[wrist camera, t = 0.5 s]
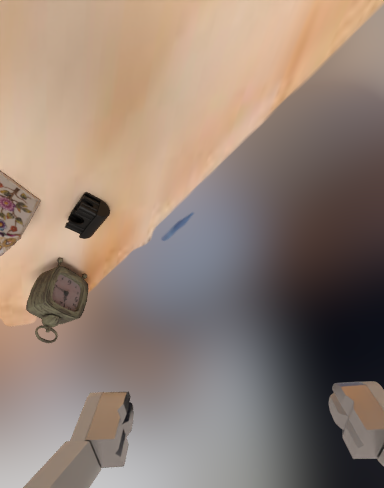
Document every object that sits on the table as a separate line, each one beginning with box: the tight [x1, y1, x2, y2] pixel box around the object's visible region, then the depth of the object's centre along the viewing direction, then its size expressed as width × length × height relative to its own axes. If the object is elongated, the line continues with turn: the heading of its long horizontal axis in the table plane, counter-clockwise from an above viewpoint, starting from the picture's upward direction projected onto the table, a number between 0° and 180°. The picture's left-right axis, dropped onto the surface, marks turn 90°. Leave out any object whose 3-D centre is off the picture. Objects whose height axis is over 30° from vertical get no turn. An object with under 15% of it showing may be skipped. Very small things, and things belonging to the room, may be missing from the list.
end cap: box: [65, 192, 110, 239], centre depth 62 cm, size 10×7×7 cm
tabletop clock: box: [26, 258, 88, 343], centre depth 74 cm, size 14×9×25 cm, turn 25°
